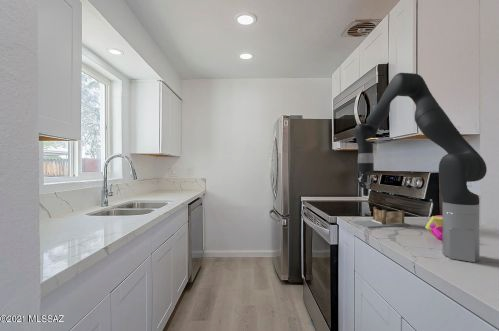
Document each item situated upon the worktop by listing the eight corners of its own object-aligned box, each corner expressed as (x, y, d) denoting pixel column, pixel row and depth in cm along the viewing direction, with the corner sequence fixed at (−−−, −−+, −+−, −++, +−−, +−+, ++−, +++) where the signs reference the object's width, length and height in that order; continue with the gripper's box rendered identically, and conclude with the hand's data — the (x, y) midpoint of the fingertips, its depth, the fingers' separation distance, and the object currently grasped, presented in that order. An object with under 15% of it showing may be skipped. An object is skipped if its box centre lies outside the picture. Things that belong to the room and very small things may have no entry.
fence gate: (384, 222, 130) (384, 209, 130) (380, 222, 130) (380, 209, 130) (375, 218, 139) (375, 206, 139) (372, 218, 139) (372, 206, 139)
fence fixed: (383, 225, 127) (383, 210, 127) (380, 225, 129) (380, 209, 129) (405, 224, 129) (405, 209, 129) (402, 224, 131) (402, 209, 131)
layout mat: (368, 227, 123) (368, 226, 123) (353, 222, 135) (353, 221, 135) (410, 225, 127) (409, 224, 127) (392, 220, 139) (392, 219, 139)
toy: (423, 243, 101) (438, 223, 96) (421, 222, 115) (433, 203, 111) (453, 257, 97) (469, 236, 92) (446, 233, 112) (460, 213, 107)
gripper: (366, 161, 128) (366, 197, 127) (379, 162, 136) (379, 195, 136) (351, 162, 134) (352, 196, 133) (365, 162, 142) (365, 194, 142)
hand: (365, 195), depth 134 cm, fingers closed
